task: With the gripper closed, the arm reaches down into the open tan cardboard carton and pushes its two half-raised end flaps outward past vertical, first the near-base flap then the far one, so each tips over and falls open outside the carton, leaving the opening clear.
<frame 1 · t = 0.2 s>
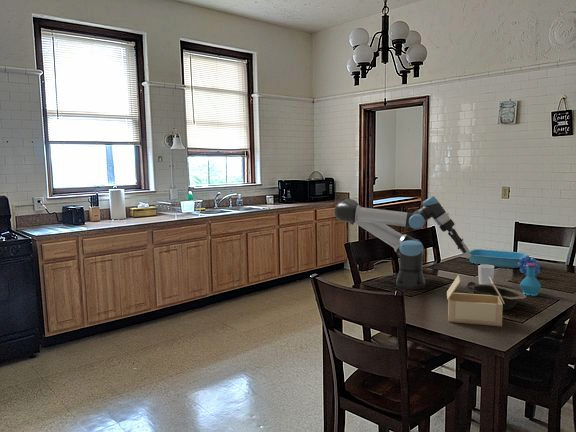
hand: (468, 254, 246), 15 cm above the table, tool tilted 35°, fingers open, 13 cm apart
casserole dish: (496, 264, 293), on the table
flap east: (496, 289, 188), point 13 cm above the table, hinge at 60.0°
carton: (473, 319, 192), on the table
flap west: (453, 287, 193), point 13 cm above the table, hinge at 60.0°
white cup: (485, 284, 245), on the table
grapes: (528, 277, 258), on the table
stone bowl: (495, 305, 211), on the table
perfume bottle: (530, 294, 227), on the table
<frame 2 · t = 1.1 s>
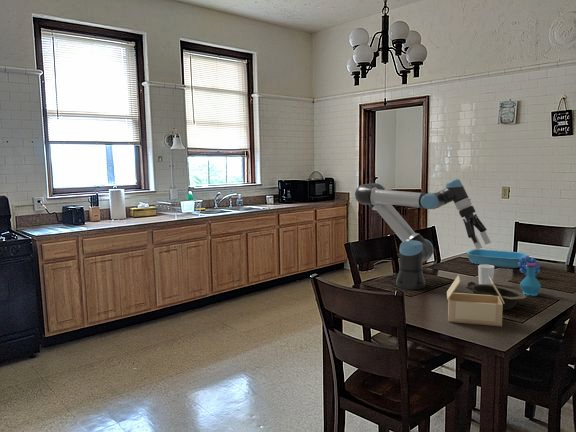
hand: (484, 246, 233), 22 cm above the table, tool tilted 25°, fingers open, 13 cm apart
nothing on the table moved.
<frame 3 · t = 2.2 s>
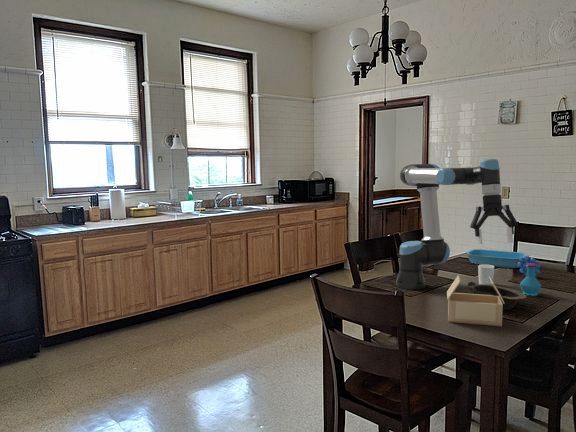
hand: (495, 243, 201), 30 cm above the table, tool pointing down, fingers open, 13 cm apart
nothing on the table moved.
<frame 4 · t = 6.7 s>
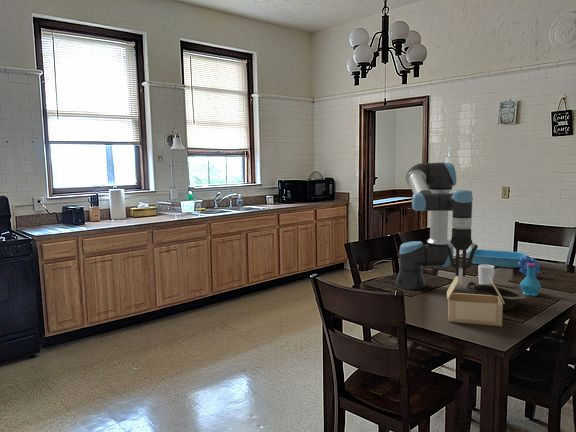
hand: (460, 283, 192), 15 cm above the table, tool pointing down, fingers closed
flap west: (452, 286, 193), point 13 cm above the table, hinge at 63.8°, touching gripper
everything else where it was.
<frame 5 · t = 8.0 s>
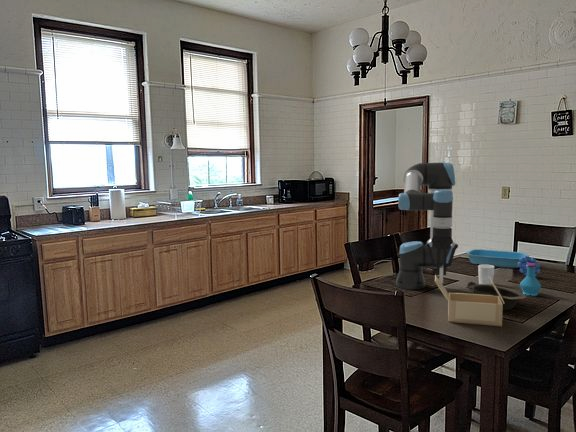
hand: (441, 282, 194), 15 cm above the table, tool pointing down, fingers closed
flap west: (441, 287, 194), point 13 cm above the table, hinge at 123.6°, touching gripper
everything else where it was.
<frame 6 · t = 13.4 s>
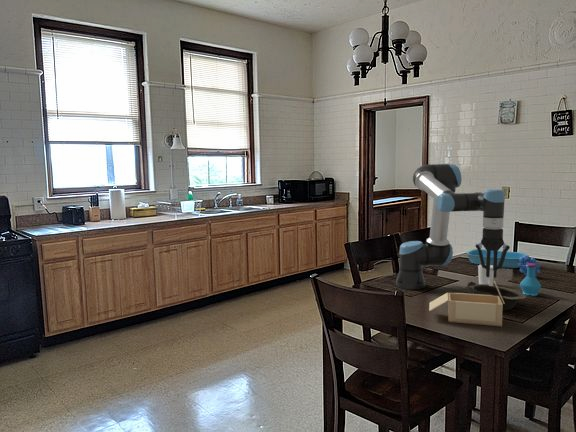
hand: (490, 285, 188), 15 cm above the table, tool pointing down, fingers closed
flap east: (497, 289, 188), point 13 cm above the table, hinge at 66.4°
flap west: (438, 301, 195), point 6 cm above the table, hinge at 215.3°
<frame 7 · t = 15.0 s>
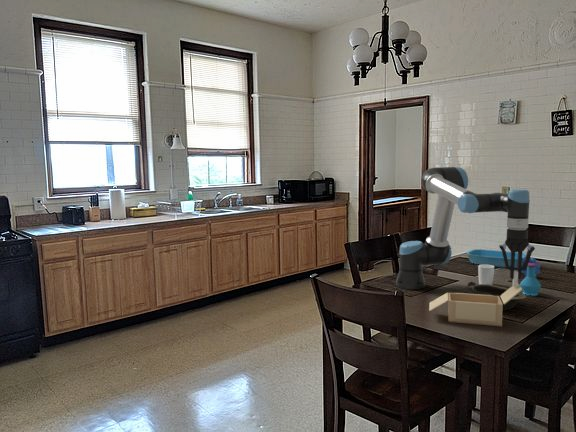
hand: (515, 286, 185), 15 cm above the table, tool pointing down, fingers closed
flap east: (510, 293, 186), point 12 cm above the table, hinge at 133.8°, touching gripper
everything else where it was.
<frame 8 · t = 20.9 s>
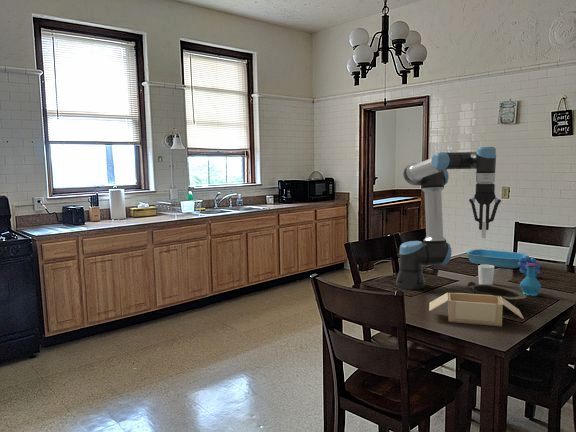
hand: (483, 237, 201), 32 cm above the table, tool pointing down, fingers closed
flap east: (511, 307, 187), point 6 cm above the table, hinge at 215.3°
at the end: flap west at +215° (first picture: +60°); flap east at +215° (first picture: +60°) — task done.
